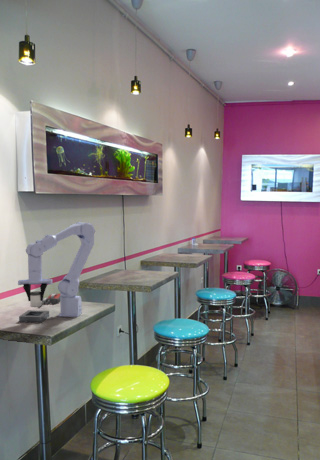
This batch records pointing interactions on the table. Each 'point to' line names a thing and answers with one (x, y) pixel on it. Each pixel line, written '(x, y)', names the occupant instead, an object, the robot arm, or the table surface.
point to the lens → (35, 299)
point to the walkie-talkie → (51, 299)
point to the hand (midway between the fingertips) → (35, 300)
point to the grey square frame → (34, 316)
